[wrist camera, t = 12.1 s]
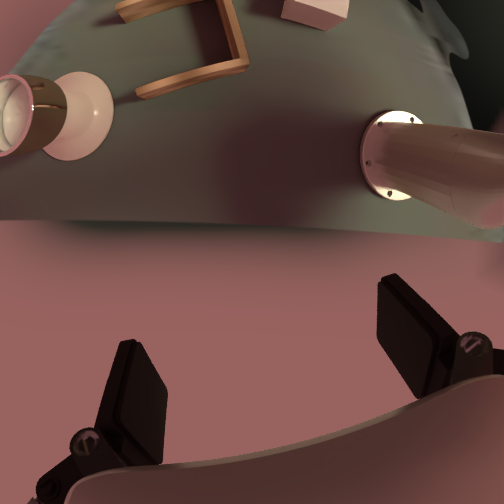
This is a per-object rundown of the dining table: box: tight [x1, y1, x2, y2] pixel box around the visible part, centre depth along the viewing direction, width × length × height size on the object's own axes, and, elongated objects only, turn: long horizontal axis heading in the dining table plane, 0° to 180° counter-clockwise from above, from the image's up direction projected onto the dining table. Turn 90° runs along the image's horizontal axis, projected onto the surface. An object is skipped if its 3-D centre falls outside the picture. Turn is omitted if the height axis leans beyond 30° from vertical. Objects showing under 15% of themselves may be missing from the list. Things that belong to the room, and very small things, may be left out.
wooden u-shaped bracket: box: [115, 0, 250, 100], centre depth 26 cm, size 12×12×5 cm
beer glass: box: [0, 74, 95, 157], centre depth 22 cm, size 7×7×15 cm
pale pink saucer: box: [43, 72, 114, 161], centre depth 29 cm, size 11×11×1 cm
